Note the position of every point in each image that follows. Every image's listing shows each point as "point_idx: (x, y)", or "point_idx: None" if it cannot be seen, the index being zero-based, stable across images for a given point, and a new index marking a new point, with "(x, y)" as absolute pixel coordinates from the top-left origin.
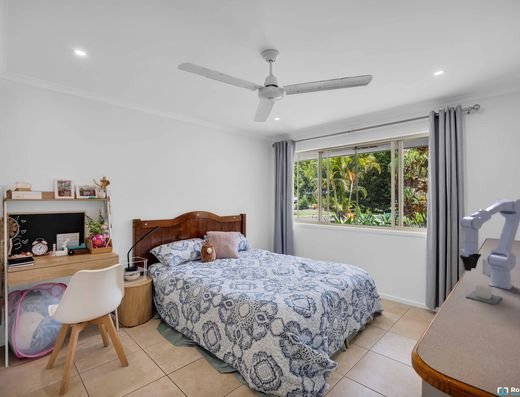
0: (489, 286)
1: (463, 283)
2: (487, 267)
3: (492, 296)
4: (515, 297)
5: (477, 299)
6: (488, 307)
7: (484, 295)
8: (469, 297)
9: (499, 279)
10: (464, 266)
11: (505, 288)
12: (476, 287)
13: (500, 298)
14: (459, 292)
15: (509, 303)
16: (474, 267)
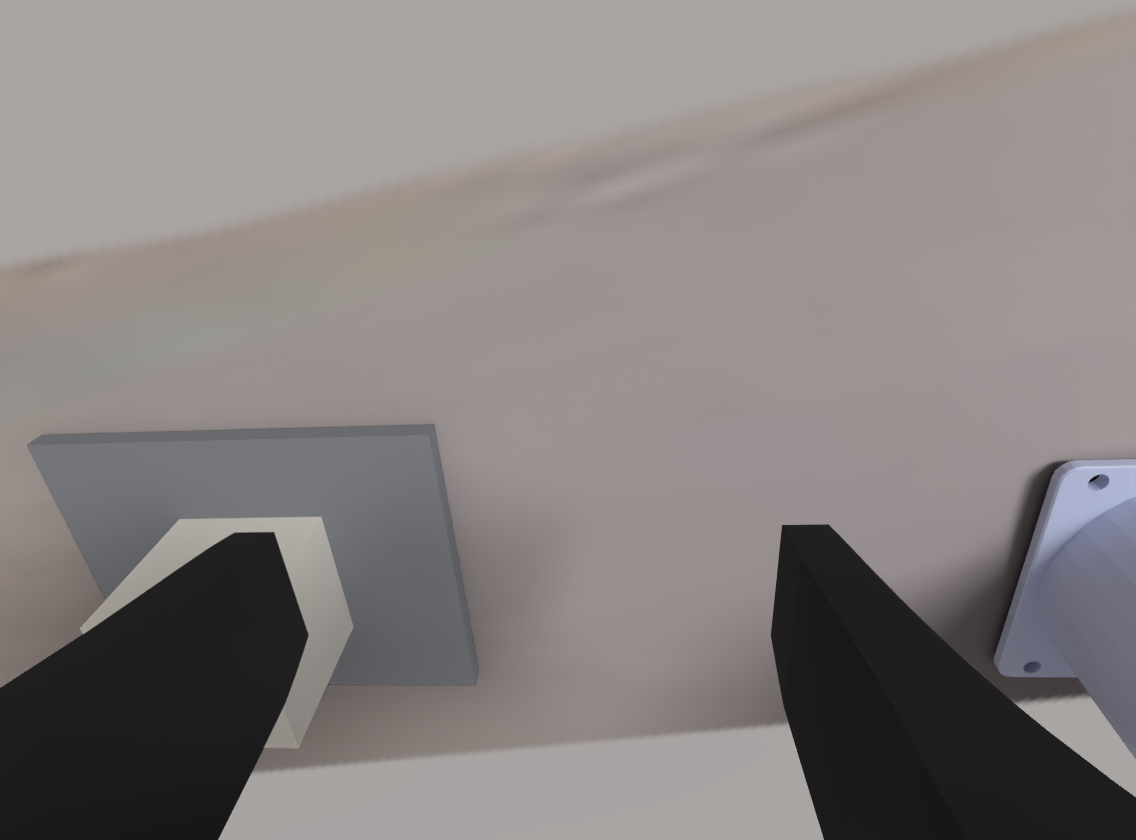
0: (284, 729)
1: (873, 127)
2: None
3: (386, 627)
4: (661, 735)
5: (85, 555)
6: (12, 651)
7: None
8: (51, 482)
9: (1112, 686)
10: (128, 616)
11: (1000, 641)
12: (96, 617)
13: (399, 684)
14: (178, 301)
15: (362, 730)
16: (781, 649)
